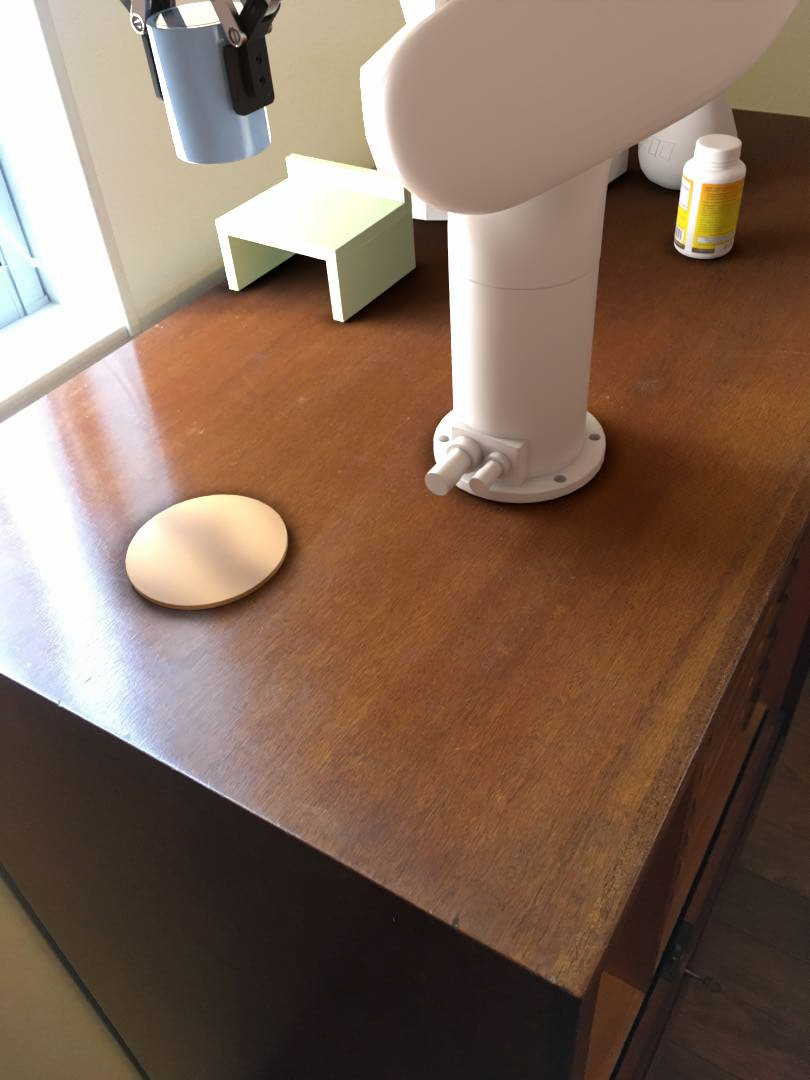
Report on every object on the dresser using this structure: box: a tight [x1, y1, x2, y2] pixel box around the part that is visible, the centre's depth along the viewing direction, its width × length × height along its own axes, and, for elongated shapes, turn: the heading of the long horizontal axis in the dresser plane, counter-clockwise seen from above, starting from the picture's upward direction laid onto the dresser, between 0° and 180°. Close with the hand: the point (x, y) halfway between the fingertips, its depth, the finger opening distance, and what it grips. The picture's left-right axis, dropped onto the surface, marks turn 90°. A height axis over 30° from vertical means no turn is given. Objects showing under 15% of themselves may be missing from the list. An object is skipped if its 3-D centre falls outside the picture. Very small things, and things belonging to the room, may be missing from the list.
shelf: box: [214, 153, 417, 323], centre depth 89 cm, size 12×14×9 cm
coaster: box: [124, 494, 289, 611], centre depth 63 cm, size 11×11×1 cm
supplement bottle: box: [673, 134, 747, 260], centre depth 88 cm, size 6×6×10 cm
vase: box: [359, 0, 449, 221], centre depth 94 cm, size 14×14×25 cm
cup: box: [146, 0, 272, 166], centre depth 60 cm, size 6×6×8 cm
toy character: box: [637, 91, 738, 191], centre depth 99 cm, size 10×10×12 cm
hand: (214, 98), depth 61 cm, fingers closed on cup, 6 cm apart
